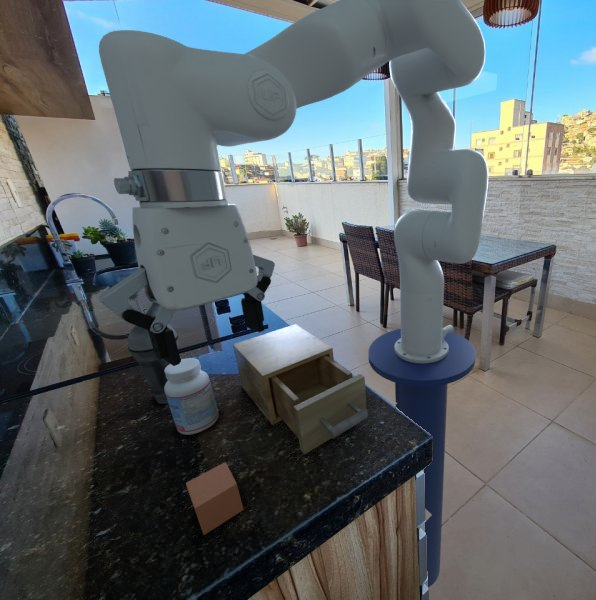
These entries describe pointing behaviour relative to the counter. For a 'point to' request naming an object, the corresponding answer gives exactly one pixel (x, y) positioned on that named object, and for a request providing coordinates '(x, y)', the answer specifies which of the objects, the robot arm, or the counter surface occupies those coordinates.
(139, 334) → the beverage cup
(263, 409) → the cabinet
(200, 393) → the pill bottle
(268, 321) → the counter surface
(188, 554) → the counter surface
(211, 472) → the block
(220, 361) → the counter surface
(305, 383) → the drawer
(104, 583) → the counter surface
